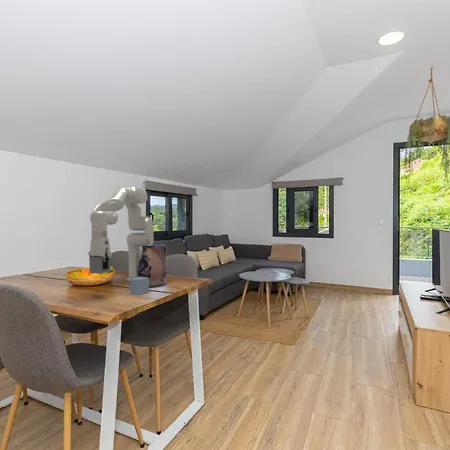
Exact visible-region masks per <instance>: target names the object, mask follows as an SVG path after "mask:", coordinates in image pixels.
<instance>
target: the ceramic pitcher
mask: <svg viewBox="0 0 450 450" xmlns="http://www.w3.org/2000/svg"><path fill="white" fill-rule="evenodd" d="M161 248H163V250H164V252H163V255H162V252H161ZM141 250H142V254H141V256H140V260H139V263H138V268H137V277H147V278H149V287H157V286H160V285H161V284H162V283H163V282H164V281H165V279H166V276H167V268H166V265H165V264H166V261H167V257H168V247H167V245H166V244H165V243H153V244H149V245H142V247H141Z"/></svg>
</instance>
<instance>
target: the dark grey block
mask: <svg viewBox="0 0 450 450" xmlns="http://www.w3.org/2000/svg"><path fill="white" fill-rule="evenodd" d="M105 259H106V257H105ZM103 262H104V261H103V257H90V256H89V262H88V263H89V273H90V274H103V273H104V274H105V273H110V272H111V269H112V268H111V267H112V266H111V264H112V263H111V259H110V260H109V261H108V264H109V268H108V269H105V270H103Z"/></svg>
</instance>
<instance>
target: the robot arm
mask: <svg viewBox="0 0 450 450" xmlns="http://www.w3.org/2000/svg"><path fill="white" fill-rule="evenodd" d="M148 197H149V195H148V193H147V191H146V190H144V189H143V188H140V187H138V186H135V185H134V186H133V185H130V186H129V185H128V186H119V187H118V188H116V191H114V193H113V194H112V196H111V197H110V198H109V199H107V200H105V201H103V202H101V203H99V204H98V205H96V206H95V207H94V209H93V210H92V212H91V213H90V216H89V221H90V223H91V225H90V226H91V239H90V248H89V249H90V250H89V251H88V253H87V254H88V256H89V257H103V261H104V262H103V270H105V269H108V268H109V264H108V261H109V260H110V261H111V258H112V256H113V254H112V252H111V245H110V239H109V237H108V235H109V234H108V226H113V225H116V223H117V222H118V221H119V215H118V214H117V213H116V212H117V211H120V210H122V209H123V208H124V206H125V207H126V209H127V215H128V216H127V219H128V220H127V222H128V223H127V224H128V228H129V230H130V231H134V232H131V233H129V234H127V236H126V243H127V248H128V249H127V251H128V277H127V278H126V281H127V282H130V279H132V278H136V277H137V268H138V263H139V260H140V256H141V254H142V245H149V244H154V240H155V239H154V223H153V222H154V221H153V219H152V217H150V216H146V215H145V216H143V215H142V209H141V208H142V207H141V206H140V204H145V203H146V202H147V201H148ZM135 231H137V232H135ZM138 231H142V232H138ZM105 257H106V259H105Z"/></svg>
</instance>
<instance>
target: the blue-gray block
mask: <svg viewBox="0 0 450 450" xmlns="http://www.w3.org/2000/svg"><path fill="white" fill-rule="evenodd" d="M149 292H150V286H149V278H147V277H136V278H132V279H130V281H129V294H130V295H139V296H141V295H143V294H147V293H149Z"/></svg>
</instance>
